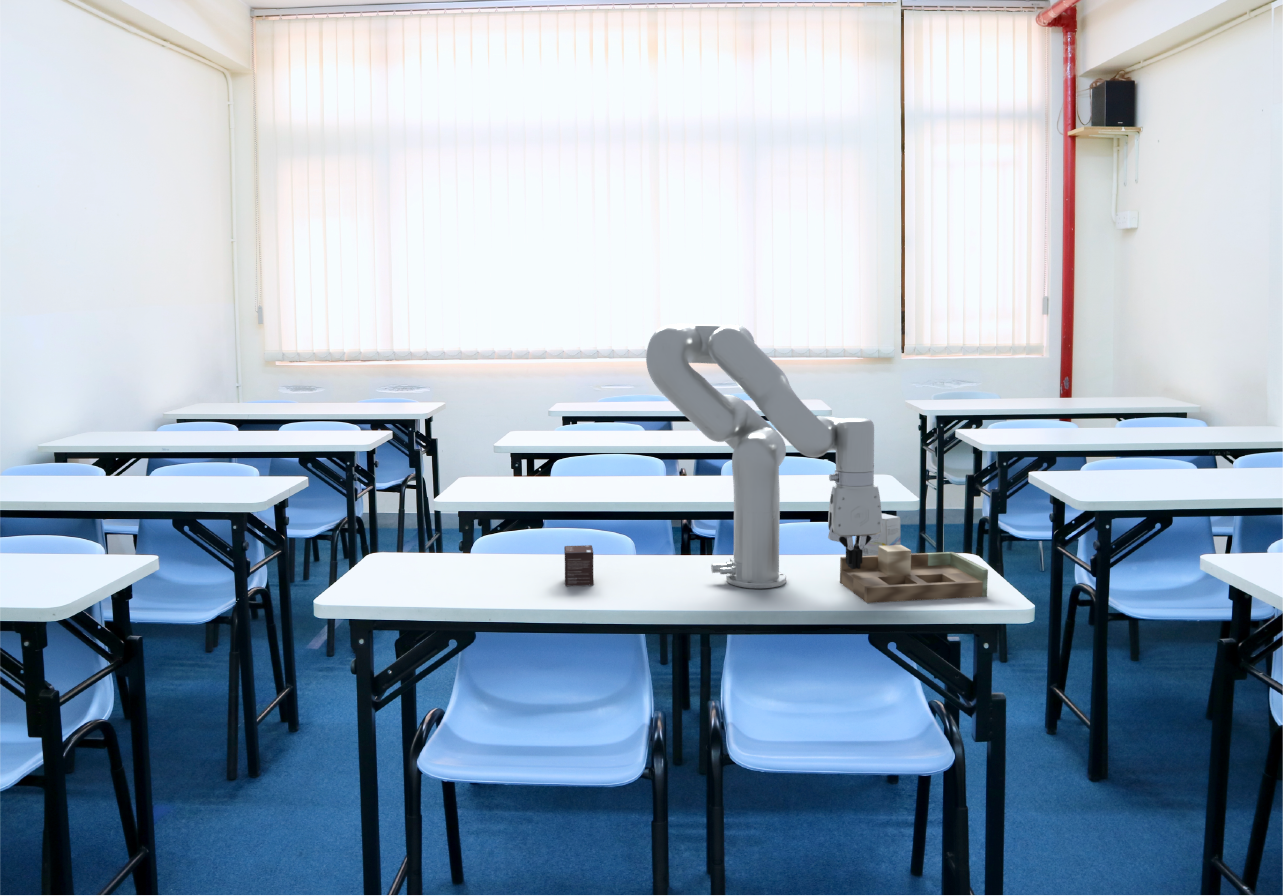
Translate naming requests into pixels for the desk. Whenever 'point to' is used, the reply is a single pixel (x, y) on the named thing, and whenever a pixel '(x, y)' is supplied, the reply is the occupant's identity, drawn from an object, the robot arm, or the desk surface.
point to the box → (578, 565)
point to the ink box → (884, 535)
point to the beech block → (894, 560)
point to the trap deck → (917, 579)
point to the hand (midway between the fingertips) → (853, 567)
